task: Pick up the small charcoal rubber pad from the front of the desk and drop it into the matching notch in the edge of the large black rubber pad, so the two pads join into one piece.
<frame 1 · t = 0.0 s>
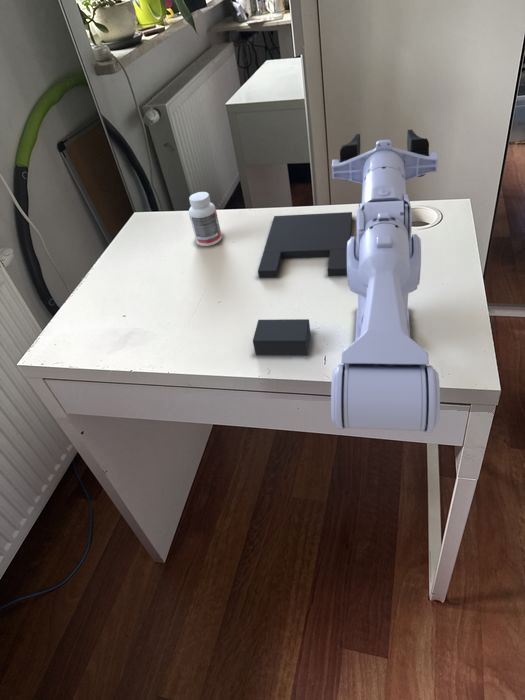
hand: (383, 138, 80), 22 cm above the table, tool horizontal, fingers open, 7 cm apart
small pad: (283, 344, 81), on the table
big pad: (308, 246, 101), on the table
pill bottle: (209, 240, 108), on the table
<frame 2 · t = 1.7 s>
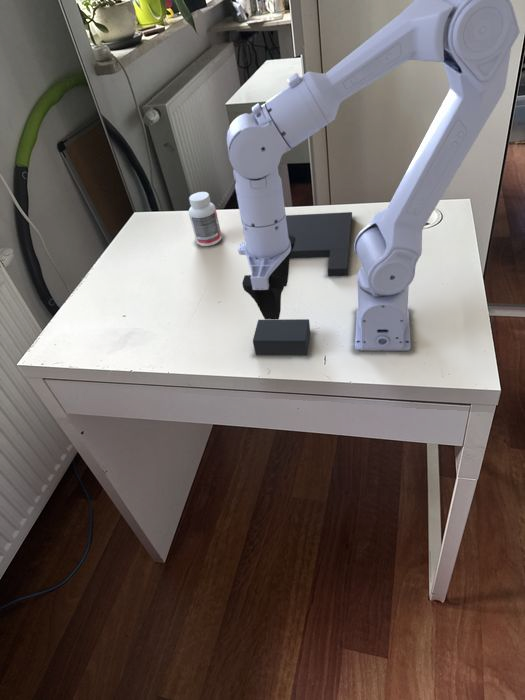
hand: (276, 300, 75), 8 cm above the table, tool pointing down, fingers open, 7 cm apart
nothing on the table moved.
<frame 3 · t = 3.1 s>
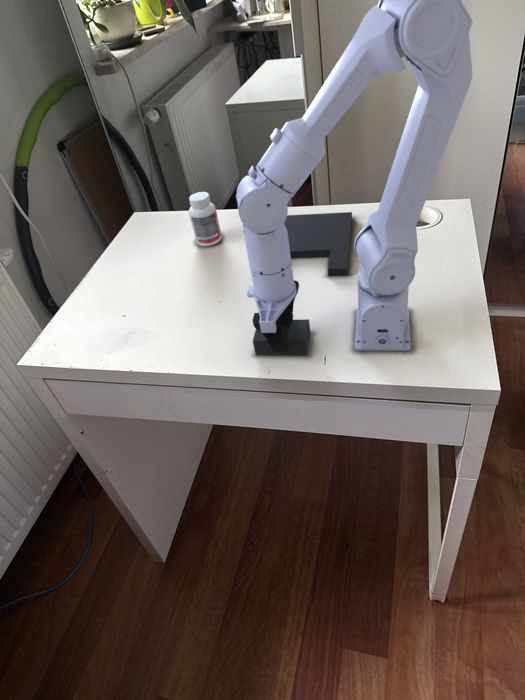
hand: (282, 337, 80), 1 cm above the table, tool pointing down, fingers closed on small pad, 5 cm apart
small pad: (283, 344, 81), on the table, touching gripper
everything else where it was.
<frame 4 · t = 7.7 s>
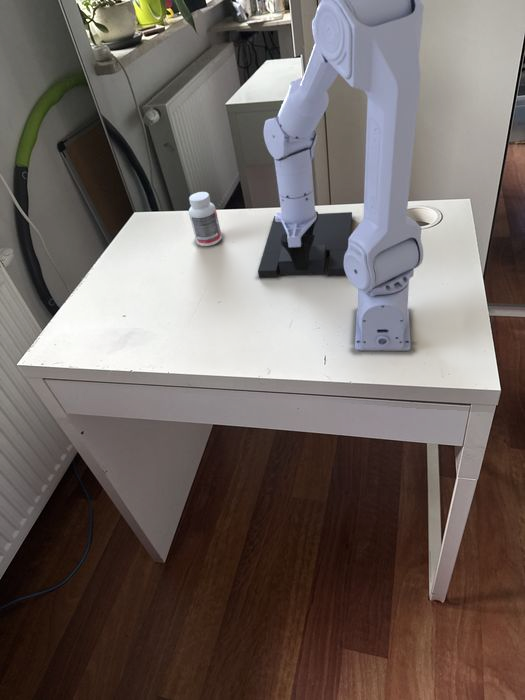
hand: (303, 260, 95), 1 cm above the table, tool pointing down, fingers closed on small pad, 5 cm apart
small pad: (303, 266, 96), on the table, touching gripper
everything else where it was.
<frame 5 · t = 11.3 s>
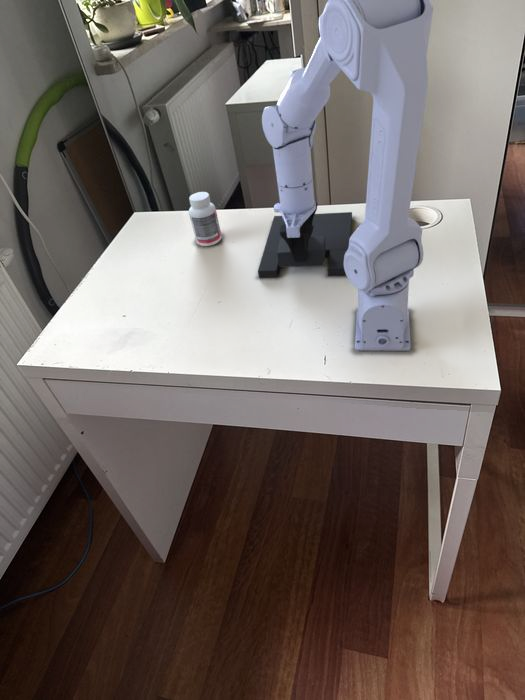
hand: (302, 251, 94), 3 cm above the table, tool pointing down, fingers closed on small pad, 5 cm apart
small pad: (302, 258, 95), point 2 cm above the table, touching gripper
everything else where it was.
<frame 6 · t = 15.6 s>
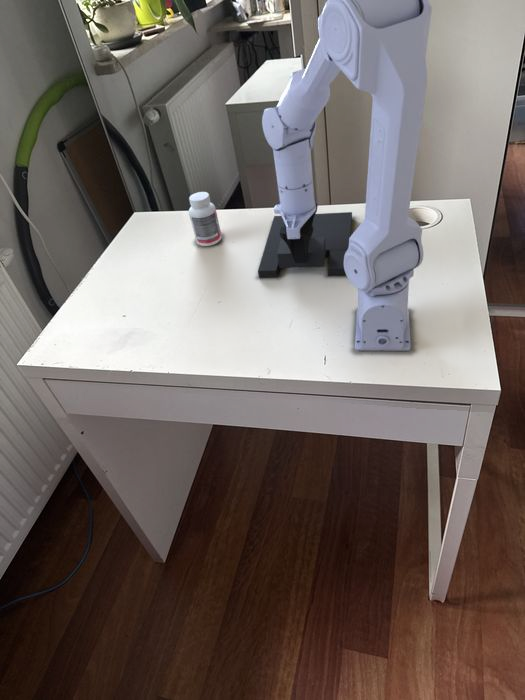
hand: (302, 253, 94), 3 cm above the table, tool pointing down, fingers closed on small pad, 5 cm apart
small pad: (302, 259, 95), point 2 cm above the table, touching gripper
everything else where it was.
when the fingers open (3 cm above the table, at t = 19.6 s): small pad drops 2 cm, on the table.
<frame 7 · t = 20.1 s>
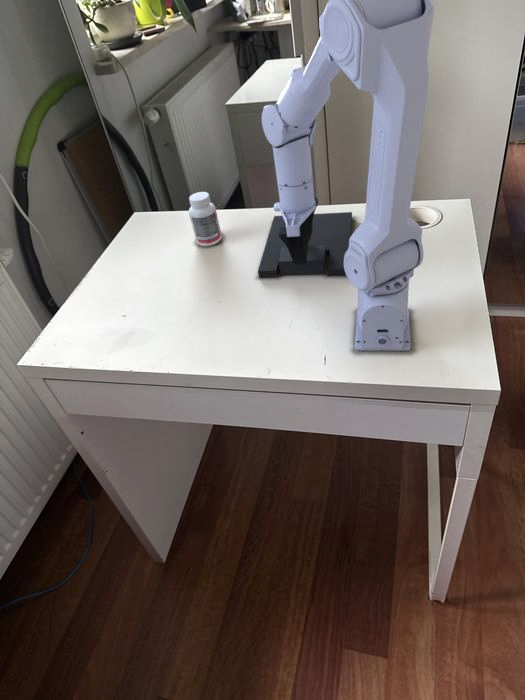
hand: (302, 251, 93), 3 cm above the table, tool pointing down, fingers open, 7 cm apart
small pad: (303, 266, 96), on the table
everything else where it was.
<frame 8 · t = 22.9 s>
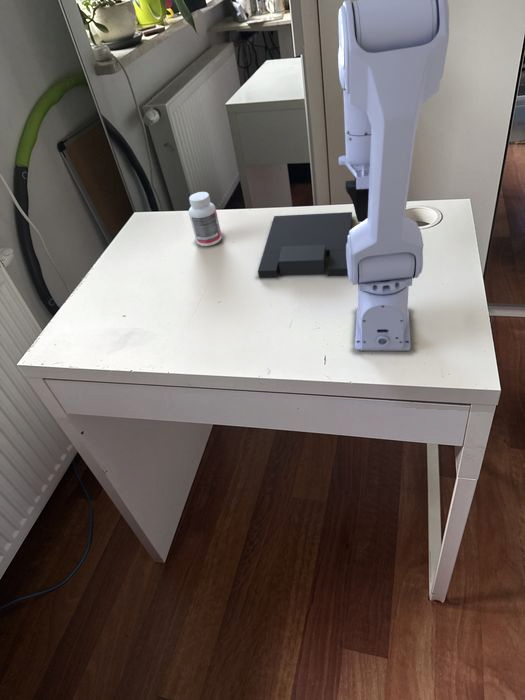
hand: (364, 209, 89), 9 cm above the table, tool pointing down, fingers open, 7 cm apart
nothing on the table moved.
at the end: small pad 0.1 cm from the target spot on the big pad, point 0.0 cm above the big pad's base; small pad tilted 0° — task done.
